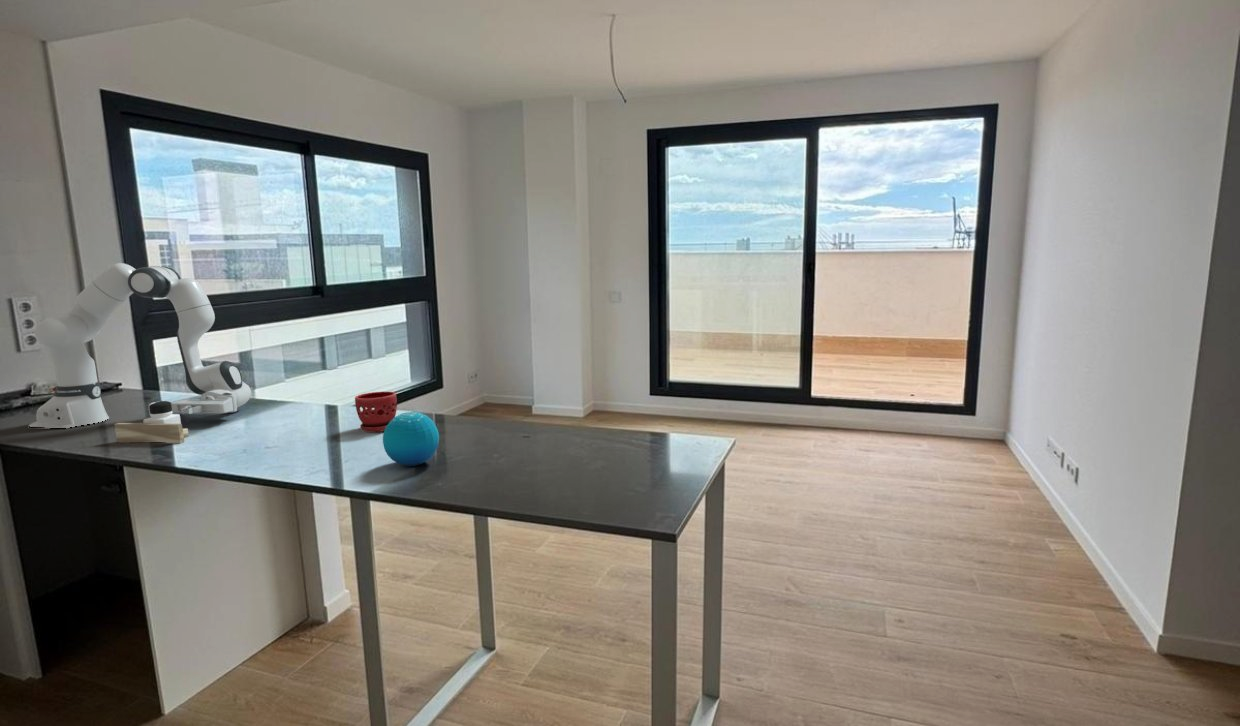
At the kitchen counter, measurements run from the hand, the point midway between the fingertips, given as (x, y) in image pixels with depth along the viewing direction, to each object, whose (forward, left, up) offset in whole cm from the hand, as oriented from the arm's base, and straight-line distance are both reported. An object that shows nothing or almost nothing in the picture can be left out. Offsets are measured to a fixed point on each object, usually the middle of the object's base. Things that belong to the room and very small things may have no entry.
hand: (185, 411), depth 219 cm
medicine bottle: (-1, -10, -6) cm, 12 cm away
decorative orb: (+87, -48, -6) cm, 100 cm away
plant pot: (+66, -8, -6) cm, 67 cm away
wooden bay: (-2, -12, -6) cm, 14 cm away
